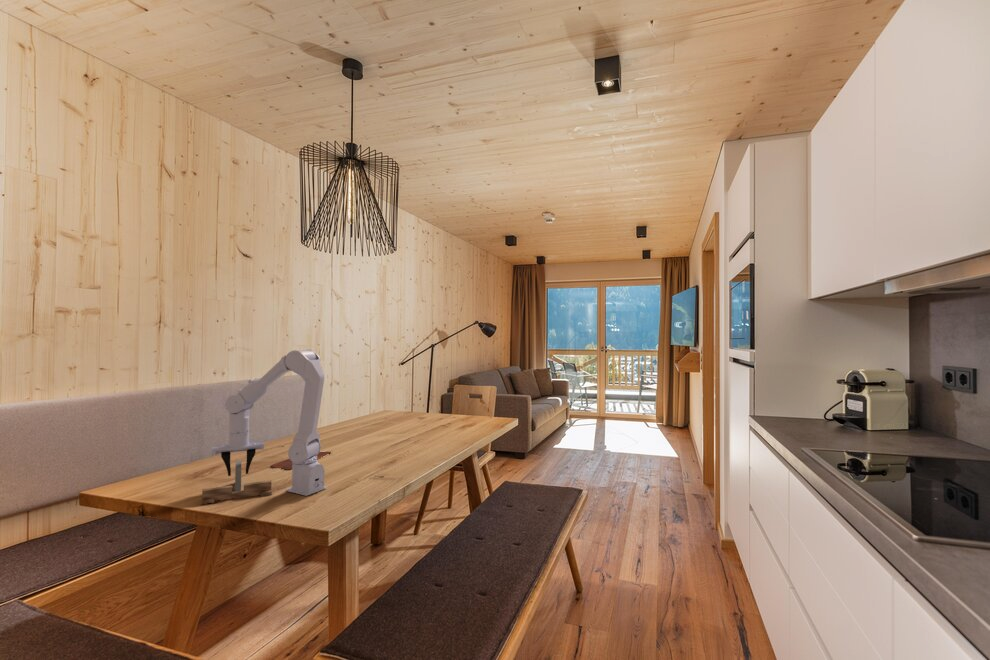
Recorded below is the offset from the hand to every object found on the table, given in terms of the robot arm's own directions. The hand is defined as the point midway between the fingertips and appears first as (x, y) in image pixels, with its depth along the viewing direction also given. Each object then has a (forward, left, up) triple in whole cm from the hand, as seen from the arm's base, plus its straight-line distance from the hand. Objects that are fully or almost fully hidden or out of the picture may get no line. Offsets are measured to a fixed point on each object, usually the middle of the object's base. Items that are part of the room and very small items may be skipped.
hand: (238, 474), depth 145 cm
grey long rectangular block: (0, 0, -4) cm, 4 cm away
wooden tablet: (+7, -32, -5) cm, 33 cm away
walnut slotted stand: (-9, +6, -4) cm, 11 cm away
